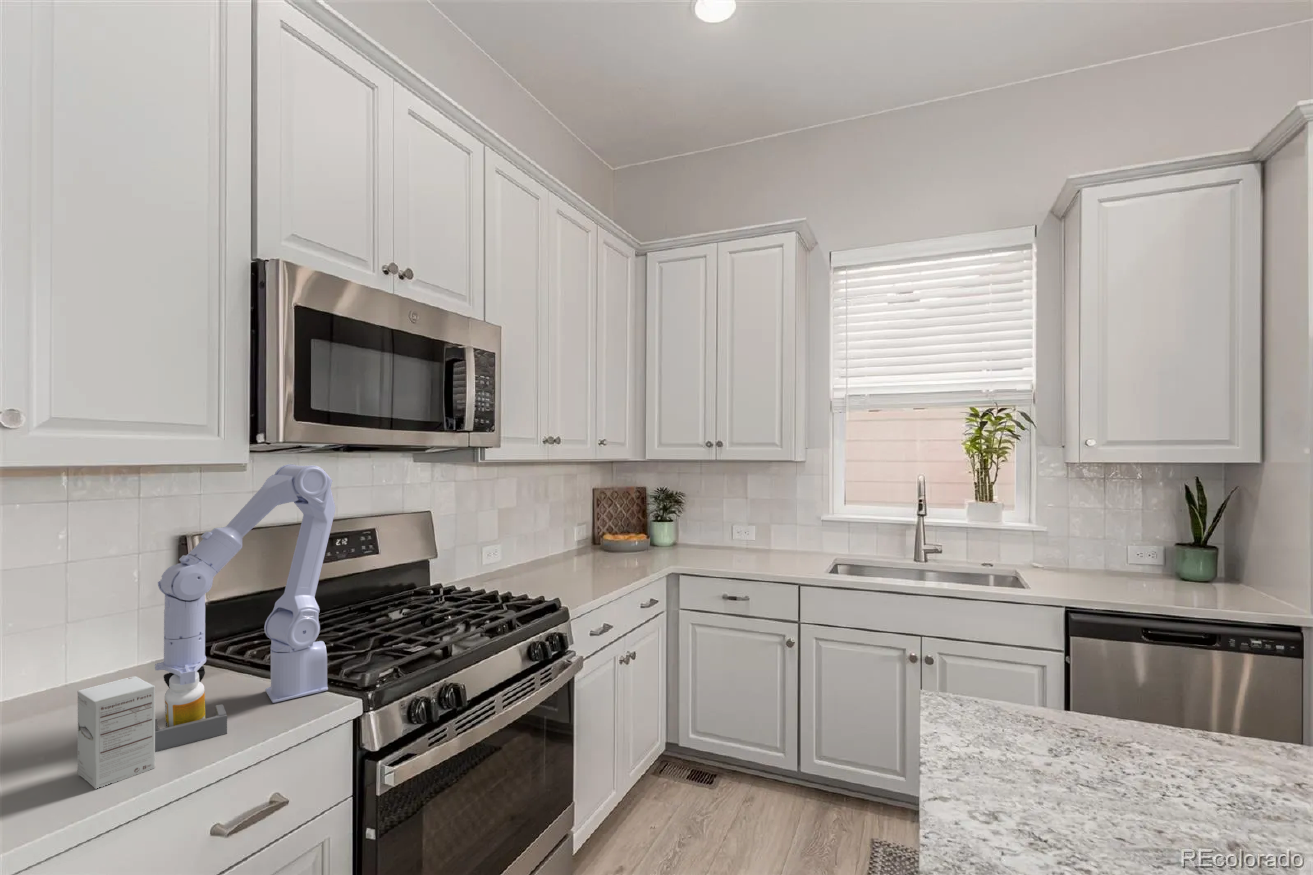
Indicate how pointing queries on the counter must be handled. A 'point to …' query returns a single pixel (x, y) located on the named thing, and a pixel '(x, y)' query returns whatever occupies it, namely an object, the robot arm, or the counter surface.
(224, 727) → the clip holder
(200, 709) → the supplement bottle
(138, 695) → the supplement box
